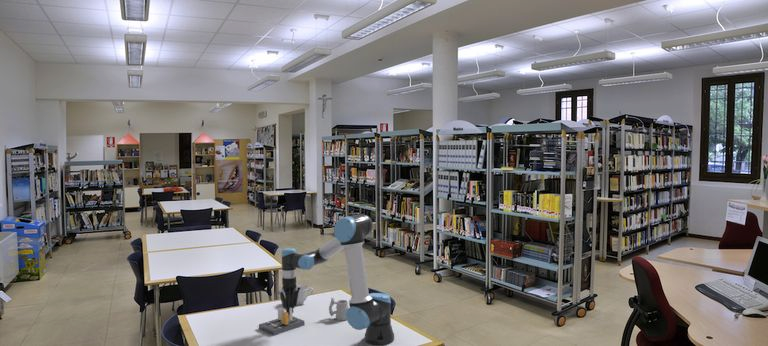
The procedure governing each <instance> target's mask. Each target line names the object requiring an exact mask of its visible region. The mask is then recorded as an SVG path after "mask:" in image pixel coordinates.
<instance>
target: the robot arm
mask: <svg viewBox="0 0 768 346" xmlns="http://www.w3.org/2000/svg"><path fill="white" fill-rule="evenodd" d="M373 229H374V223H373V220H372V219H371V217H370V216H368V215H366V214H365V213H358V214H355V215H346V216H345V217H341V218H339V219H338V220H337V222H336V223H335V224H334V228H333V233H334V238H332V239H330V240H329V241H327V242H326V243H324V244H323V245H322V246H320V247H319V248H317V249H315V250H314V251H310V252H306V253H297V251H296V249H295V247H287V248H286V247H285V248H283V249H282V250H281V278H282V279H281V281H282V282H281V284H282V288H281V290H279V291H278V292H277V293H278V295H279V296H280V302H281V306H282V308H283V309H285V312H287V313H288V320H292V316H293V314H294V308H295V306H298V305H297V299H298V293H299V290H300V288H299V287H297V269H301V270H309V271H310V270H311V269H312V268H313V267H314V266H317V265H320V264H324V263H326V262H328V261H329V259H330V258H331V257H333V256H335V254H337V253H339V252H341V251H342V250H343V249H344V253H345V260H346V269H347V275H348V281H349V289H350V295H351V297H350V299H349V301H348V306H349V308H348V310H347V312H346V319H347V320H346V321H347V323H348V324H349V326H350V327H351V328H353V329H354V330H356V331H362V330H364V329H366V330H365V333H364V340H365V342H366V343H368V344H370V345H376V346H381V345H384V346H385V345H389V344H390V343H392V342H394V340H395V332H394V331H393V326H392V320H391V319H392V318H391V317H392V316H391V315H392V314H391V313H392V312H391V308H392V307H391V306H392V305H391V304H392V301H391V296H390V295H388V294H386V293H381V292H371V293H369V284H368V278H367V271H366V265H365V258H364V250H363V245H364V244H365V238H366V237H368V236H369V235H370V234H371V233H372V231H373Z"/></svg>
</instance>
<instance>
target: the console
mask: <svg viewBox="0 0 768 346" xmlns="http://www.w3.org/2000/svg"><path fill="white" fill-rule="evenodd" d="M288 323H289V324H287V325H285V324H282V321H281V320H279V319H278V318H275V319H272V320H269V321H266V322H262V323H259V324H258V330H260V331H262V332H264V333H266V334H268V335H271V336H273V337H274V336H277V335H281V334H282V333H283V334H284V333H286V332H289V331H291V330H294V329H298V328H300V327H304V326H305V320H304V319H301V318H298V317H296V316H293V315H292V320H288Z"/></svg>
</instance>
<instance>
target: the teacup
mask: <svg viewBox="0 0 768 346" xmlns="http://www.w3.org/2000/svg"><path fill="white" fill-rule="evenodd" d="M296 286H297V287H299V288H300V290H299V293H298V299H297V305H296V306H301V305H304V303H305V302H306V301H307V298H308V297H309V296H312V294H314V288H313V287H309V286H308V285H306V284H305V285H303V284H302V285H301V284H298V285H297V284H296ZM310 290H311V292H310ZM308 292H310V293H308Z"/></svg>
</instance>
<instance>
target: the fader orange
mask: <svg viewBox="0 0 768 346" xmlns="http://www.w3.org/2000/svg"><path fill="white" fill-rule="evenodd" d="M282 324H285V325H287V324H289V323H288V313H287V312H286V311H284V312H282Z"/></svg>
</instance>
